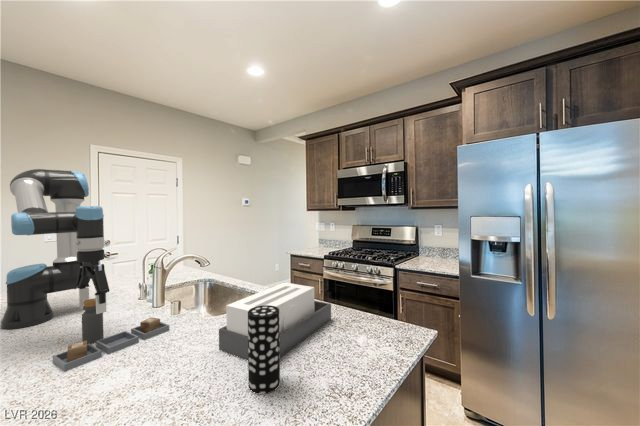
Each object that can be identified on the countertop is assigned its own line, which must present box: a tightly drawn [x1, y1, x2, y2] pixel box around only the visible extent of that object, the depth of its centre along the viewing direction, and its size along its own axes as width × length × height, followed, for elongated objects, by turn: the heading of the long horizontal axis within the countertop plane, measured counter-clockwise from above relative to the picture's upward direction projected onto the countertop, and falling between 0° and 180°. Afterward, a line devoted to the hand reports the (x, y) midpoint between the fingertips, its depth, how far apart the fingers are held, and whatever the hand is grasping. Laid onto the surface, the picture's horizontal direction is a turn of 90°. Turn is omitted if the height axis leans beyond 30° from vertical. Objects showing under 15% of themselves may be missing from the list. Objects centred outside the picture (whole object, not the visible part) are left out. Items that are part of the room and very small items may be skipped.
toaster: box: [225, 281, 315, 337], centre depth 105 cm, size 35×16×15 cm, turn 150°
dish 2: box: [95, 330, 140, 355], centre depth 97 cm, size 9×9×2 cm
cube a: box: [139, 317, 161, 333], centre depth 106 cm, size 4×4×5 cm
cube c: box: [66, 341, 87, 362], centre depth 87 cm, size 4×4×5 cm
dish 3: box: [130, 321, 170, 341], centre depth 106 cm, size 9×9×2 cm
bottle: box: [81, 297, 104, 345], centre depth 100 cm, size 6×6×15 cm
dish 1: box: [52, 344, 103, 372], centre depth 87 cm, size 9×9×2 cm
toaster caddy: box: [218, 300, 332, 361], centre depth 106 cm, size 21×40×7 cm, turn 149°
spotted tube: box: [247, 305, 281, 394], centre depth 75 cm, size 8×8×20 cm
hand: (92, 309), depth 99 cm, fingers open, 13 cm apart
